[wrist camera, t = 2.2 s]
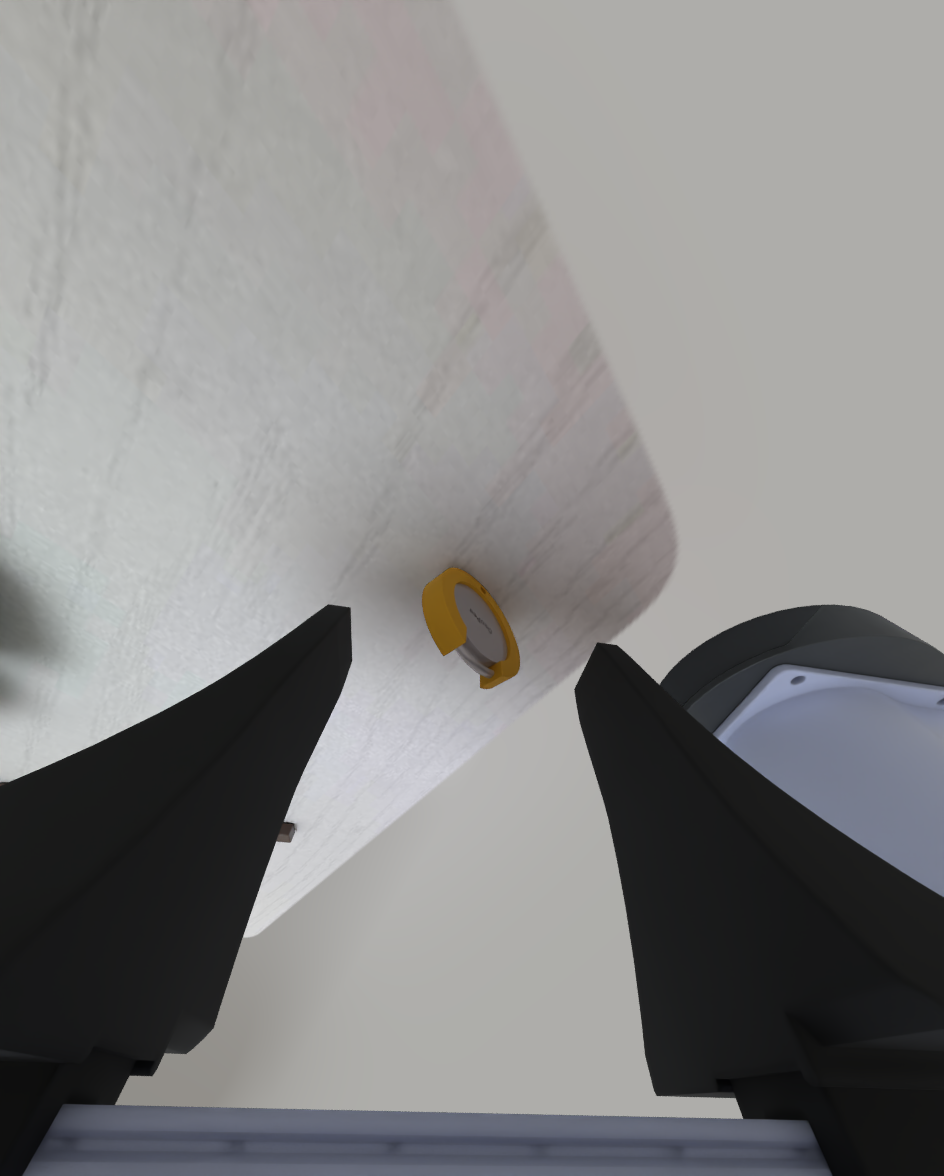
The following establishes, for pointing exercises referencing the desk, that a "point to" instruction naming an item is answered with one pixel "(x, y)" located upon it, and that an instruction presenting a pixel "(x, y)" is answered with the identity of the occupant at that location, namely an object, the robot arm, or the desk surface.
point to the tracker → (470, 626)
